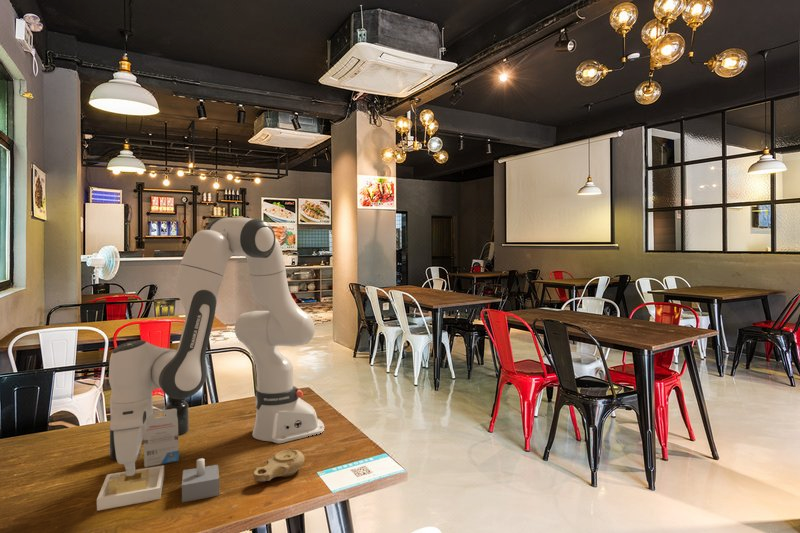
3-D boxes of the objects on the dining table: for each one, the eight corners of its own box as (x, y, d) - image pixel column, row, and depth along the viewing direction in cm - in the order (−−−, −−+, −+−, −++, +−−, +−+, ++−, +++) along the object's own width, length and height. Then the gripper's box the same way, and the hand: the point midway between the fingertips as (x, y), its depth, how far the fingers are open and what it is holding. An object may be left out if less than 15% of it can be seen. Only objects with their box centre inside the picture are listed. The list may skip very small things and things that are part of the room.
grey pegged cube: (218, 480, 117) (217, 450, 117) (219, 495, 110) (218, 464, 110) (183, 486, 114) (182, 456, 114) (182, 502, 107) (181, 470, 106)
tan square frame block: (148, 481, 115) (148, 469, 115) (146, 492, 110) (145, 480, 110) (111, 487, 112) (111, 475, 112) (107, 499, 107) (106, 486, 107)
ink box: (178, 454, 132) (177, 403, 132) (178, 461, 128) (178, 408, 128) (144, 460, 128) (143, 407, 128) (143, 467, 124) (142, 413, 124)
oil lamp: (250, 489, 113) (250, 469, 113) (270, 463, 127) (270, 445, 127) (293, 491, 112) (293, 470, 112) (308, 464, 126) (308, 446, 126)
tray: (164, 475, 120) (164, 465, 120) (160, 498, 108) (160, 487, 108) (107, 484, 115) (107, 474, 115) (96, 510, 103) (96, 499, 103)
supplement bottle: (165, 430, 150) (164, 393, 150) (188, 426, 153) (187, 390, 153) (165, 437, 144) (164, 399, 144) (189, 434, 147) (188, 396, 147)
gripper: (124, 397, 120) (125, 450, 121) (108, 426, 101) (110, 488, 102) (151, 394, 122) (153, 446, 123) (141, 422, 103) (143, 482, 104)
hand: (133, 465), depth 112 cm, fingers open, 8 cm apart
